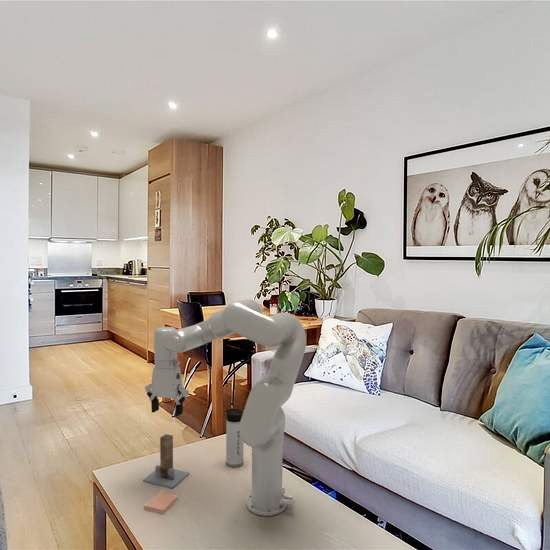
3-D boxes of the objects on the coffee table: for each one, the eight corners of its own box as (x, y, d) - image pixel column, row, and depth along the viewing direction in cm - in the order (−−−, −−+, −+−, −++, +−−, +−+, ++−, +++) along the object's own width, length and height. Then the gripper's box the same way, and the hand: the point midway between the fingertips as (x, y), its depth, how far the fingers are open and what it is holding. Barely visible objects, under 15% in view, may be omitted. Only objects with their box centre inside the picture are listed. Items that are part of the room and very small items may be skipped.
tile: (178, 495, 134) (163, 510, 127) (178, 501, 134) (163, 515, 127) (159, 491, 137) (143, 505, 129) (159, 496, 137) (143, 511, 129)
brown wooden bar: (177, 476, 147) (177, 436, 146) (172, 480, 144) (172, 440, 144) (161, 472, 150) (160, 433, 149) (155, 476, 147) (155, 436, 146)
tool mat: (189, 474, 150) (189, 472, 150) (172, 488, 140) (172, 487, 140) (161, 467, 154) (161, 466, 154) (142, 481, 145) (142, 479, 145)
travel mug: (227, 458, 161) (227, 406, 160) (244, 459, 160) (245, 407, 159) (223, 466, 155) (223, 412, 154) (241, 468, 154) (241, 414, 153)
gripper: (193, 363, 145) (194, 412, 146) (152, 359, 152) (153, 406, 153) (181, 368, 138) (182, 420, 139) (138, 364, 145) (139, 413, 146)
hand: (167, 413), depth 146 cm, fingers open, 9 cm apart
